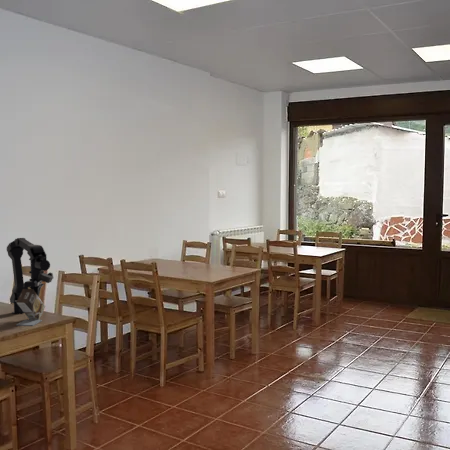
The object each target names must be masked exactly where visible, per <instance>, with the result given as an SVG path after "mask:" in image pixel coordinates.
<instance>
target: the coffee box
mask: <svg viewBox="0 0 450 450" xmlns="http://www.w3.org/2000/svg"><path fill="white" fill-rule="evenodd" d="M16 303H17V304H18V305H19V307H20V308H21V309H22V311H23V312H24V313H23V314H25V316H26V317H27V318H28V320H41V317H42V315H43V313H44V310H45V308H46V305H45V303H44V302H43V301H42V300H41V298H40V297H38V295H37V294H36V292H35V291H34V290H33V289H31V288H28V289H23V290H22V292H21V294H20V296H19V298H18V300H17V302H16Z"/></svg>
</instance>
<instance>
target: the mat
mask: <svg viewBox="0 0 450 450" xmlns="http://www.w3.org/2000/svg"><path fill="white" fill-rule="evenodd" d="M42 321H43V319H39V320H30V319H24V320H22V321H20V322H18V323H16V324H15V325H16V326H18V327H22V326H24V327H33V326H36V325H37V324H38V323H39V324H40V323H41V322H42Z"/></svg>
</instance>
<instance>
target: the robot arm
mask: <svg viewBox="0 0 450 450" xmlns="http://www.w3.org/2000/svg"><path fill="white" fill-rule="evenodd" d="M24 251H25V252H27V255H28V256H29V259H28V260H29V261H30V270H29V271H28V273H29V274H30V278H29V280H26V281H24V276H23V275H24V274H23V267H22V266H23V265H22V256H23V255H24ZM6 253H7V255H8V257H9V259H11V264H12V272H13V273H12V274H13V280H14V286H13V288H12V292H11V296H10V298H9V302H10V303H11V304H13V311H12V312H11V314H25V313H24V312H23V311H22V309H21V308H20V307H19V305H18V304H17V303H16V302H17V300H18V298H19V296H20V294H21V292H22V290H23V289H33V290H34V291H35V292H36V294H37V295H38V297H39V296H40V292H41V289H42V288H43V286H44V285H45V284H46V283H47V284H49V283H52V281H53V279H54V274H53V272H48V273H45V272H46V271H48V270H49V269H50V267H51V263H50V261H49V260H47V253H46V251H45V249H44V247H43V245H41V244H34V243H32V242H30V241H29V240H27V239H26V238H25V237H17V238H15V239H14V240H13V241H11V242H9V243H8V244H7V246H6ZM43 282H45V283H43ZM39 298H40V297H39Z"/></svg>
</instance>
